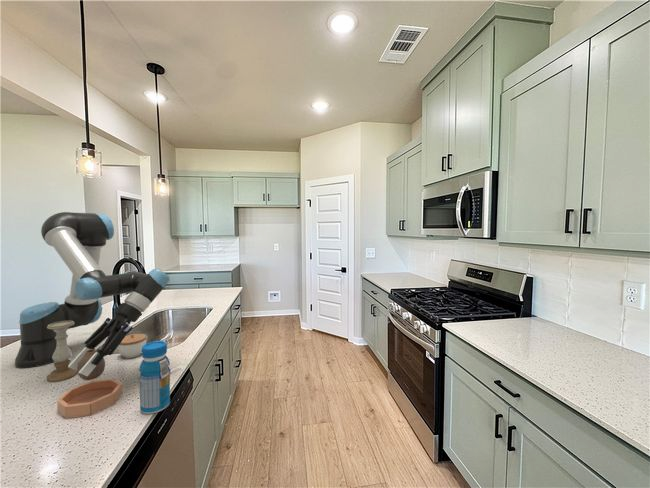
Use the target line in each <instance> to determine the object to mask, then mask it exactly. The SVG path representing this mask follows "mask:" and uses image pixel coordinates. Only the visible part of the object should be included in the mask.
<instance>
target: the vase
mask: <svg viewBox="0 0 650 488" xmlns="http://www.w3.org/2000/svg"><path fill="white" fill-rule="evenodd" d="M96 351H97V349H96V348H95V349H91V350H88V351H86V353H85V355H84V356H83V357H82V359H81V360H80V361H79V363H78V367H77V372H79V371H80V370H81V369H82V368H83V367H84V365H85V364H86V363H87V362H88V361H89V360H90V358H91V357H92V356H93V355H94V354H95V353H96ZM97 353H98V352H97ZM105 367H106V361H105V357H103V359H102V360H101V361H100V362H99V363H98V365H97V366H96V367H95V368H94V369H93V371H92V372H91V373H90V374H89V375H88V376H85V375H83V374H80V373H77V375H78V377H79V378H80V379H81V380H83V381H93V380H96V379H97V378H99V377H100V376H101V375H102V374H103V373H104V371H105Z"/></svg>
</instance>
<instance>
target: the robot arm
mask: <svg viewBox="0 0 650 488" xmlns="http://www.w3.org/2000/svg"><path fill="white" fill-rule="evenodd" d="M40 233H41V237H42V239H43V241H44V242H45V244H47V245H48V246H50V247H53V249H54V250H55V251H56V252H57V254H58V255H59V257H60V258H61V260H62V261H63V263H64V264H65V266H67V268H68V269H69V271H70V272H71V273H72V276H71V284H70V290H69V294H68V295H67V296H65V298H64V302H63V303H61V304H59V302H58V301H57V302H56V301H50V302H43V303H38V304H35V305H31V306H28V307H26V308H25V309H23V310H21V312H20V314H19V320H18V321H19V322H18V323H19V332H20V347H19V348H18V349H19V350H18V351H17V355H16V357H15V358H14V359H15V360H14V364H15V367H16V368H21V369H25V368H26V369H27V368H34V367H39V366H40V367H42V366H44V365H48V364H51V363H55V361H53V359H52V356H53V353H54V351H55V349H56V346H57V340H56V339H54V338H55V337H56V335H57V334H56V332H54V329H47V326H48V325H49V324H51V323H55V322H60V321H74V322H75V324H74V325H72V326H70V327H69V329H68V330H71V329H74V328H77V327H82V326H87V325H90V324H93V323H94V324H95V323H96V322H97V321H98V320H99V319H100V318H101V316H102V314H103V307H102V306H103V305H102V304H103V303H102V301H101V300H100V299H101V298H106V297H113V296H118V295H119V296H120V295H123V294H129V295H128V296H127V297H126V298H125V299H124V300H123V301H124V302H121V304H120V305H118V307H117V308H116V309H115V311H114V312H115V313H116V315H115V316H114V317H113V318H109V317H107V318H106V319H105V320H104V321H103V323H102V324H101V325H100V326H98V328H97V329H96V330H95V331H94V332H93V333H92V334H91V335H90V336H89V337H88V338H87V339H86V340H85V341H84V343H83V344H84V348H83V350H81V351H80V353H79V354H78V355H76V357H75V358H74V359H73V360H72V361H71V362H70V363H69V366H68V367H70V368H72V369H74V370H77V367H78V363H79V361H80V360H81V359H82V357H83V356H84V355H85V353H86V351H88V350H91V349H96V348H97V347H98V346H99V345H100V344H101V343H102V342H103V341H104V342H103V344H102V346H101V347H100V349H96V353H95V354H94V355H93V356H92V357H91V358H90V360H89V361H88V362H87V363H86V364H85V365H84V367H83V368H82V369H81V370H80V371H79V372H78V373H80V374H83V375H85V376H88V375H89V374H90V373H91V372H92V371H93V369H94V368H95V367H96V366H97V365H98V363H99V362H100V361H101V360H102V359H103V358H105V357H106V356H112V355H113V354H114V353H115V351H116V350H117V348H118V346H119V344H120V343H121V342H122V340H123V339H124V338H125V336H127V335H128V334H129V333H130V332H131V331H133V328H134V327H133V326H131V323H135V322H137V321H138V320H139V318H140V317H141V316H142V315H143V314H142V313H143V312H145V311H146V310H147V309H148V308H149V306H150V305H151V304H152V302H154V300H155V299H156V298H157V297H158V296H159V294H161V292H162V291H163V290H164V289H165V288H166V286H167V285H168V283H169V282H170V276H169V275H168V274H167V273H166V272H164V271H163V270H161V269H158V268H152V269H151V270H150V271H149V272H148V273H144V272H141V271H140V272H139V271H136V270H133V271H132V270H127V271H125V272H123V273H119V274H117V273H116V274H111V275H110V274H109V275H106V274H105V273H104V271H103V269H102V268H101V267H100V265H99V264H100V258H101V251H102V248H103V247H105V246H106V244H107V241H109V240H111V239H113V238H114V235H115V227H114V224H113V221H112V220H111V219H110V217H109V216H108V215H106V214H102V213H95V212H94V213H93V212H92V213H91V212H90V213H89V212H71V211H64V212H58V213H54V214H52V215H50V216H49V217H48V218H47V219H45V221H44V222H43V223H42V226H41V230H40ZM97 352H98V353H97ZM78 373H77V374H78Z"/></svg>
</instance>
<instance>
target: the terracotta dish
mask: <svg viewBox="0 0 650 488" xmlns="http://www.w3.org/2000/svg"><path fill="white" fill-rule="evenodd" d="M122 395H123V383H122V382H120V381H119V380H117V379H115V378H106V379H105V378H104V379H98V380H96V379H95V380H90V381H89V382H86V383H83V384H80V385H78V386H75V387H73V388H70V389H68V390H67V391H66V392H65V393H63V394H62V396H61V397H59V398H58V399H57V400H56V401H57V402H56V404H57V408H56V409H57V410H56V411H57V413H58V414H60V415H61V416H62V417H63V418H64V419H72V418H79V417H81V418H82V417H87V416H92V415H94V414H97V413H98V412H101V411H103V410H105V409H108V408H109V407H112V406H114V405H115V404H116V403H117V402H118V400H119V399H120V398H121V397H122Z"/></svg>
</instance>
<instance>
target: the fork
mask: <svg viewBox="0 0 650 488" xmlns="http://www.w3.org/2000/svg"><path fill="white" fill-rule="evenodd" d="M190 362H191V359H190V358H185V360H183V362H182V363H181V362H180V364H179V365H178V366H175V367H174V368H172V369H170V374H172V373H174V372H175V371H177V370H182V369H184V368H186V367H187V366H188V365H189V363H190Z"/></svg>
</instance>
